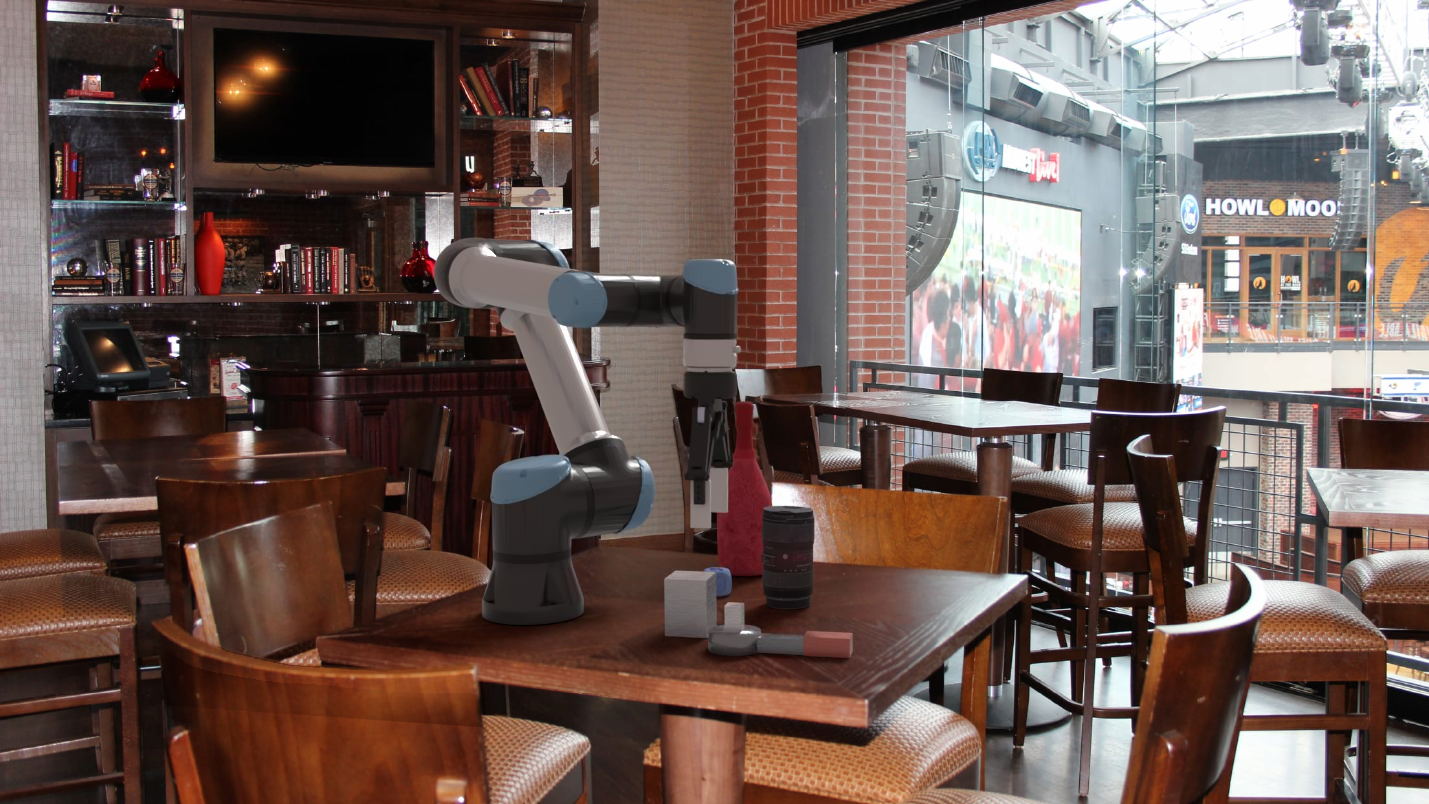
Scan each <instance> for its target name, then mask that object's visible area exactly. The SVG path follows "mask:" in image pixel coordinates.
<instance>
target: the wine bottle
mask: <svg viewBox="0 0 1429 804" xmlns="http://www.w3.org/2000/svg"><path fill="white" fill-rule="evenodd" d="M754 406H755V405H754V404H753V402H752V401H748V400H747V401H746V400H744V401H737V402H736V403H735V405H734V411H735V422H734V427H735V428H736V442H735V450H734V453H733V459H732V460H733V467H729V469H728V512H727V513H721V512H716V529H717V530H716V531H717V532H716V534H717V539H716V540H717V562H718V564H717V565H718V567H722V568H727V569H729V571H730V573H731V577H732V576H734V577H755V576H762V572H763V563H762V562H761V554H762V553H763V543H762V517H763V516H762V515H763V512H764V508H765V507H769V506H773V501H772V497H771V494H770V490H769V488H768V487H769V486H768V485H767V481H766V480H765V478H764V475H763V472H762V471H761V468H760V466H759V464H758V461H757V456H756V451H755V448H754V441H753V428H754V427H755V422H754V410H755V407H754Z"/></svg>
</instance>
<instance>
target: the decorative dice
mask: <svg viewBox="0 0 1429 804" xmlns="http://www.w3.org/2000/svg"><path fill="white" fill-rule="evenodd" d="M702 572H716V597H725V596H729V595H730V593H731V592H732V587H733V583H732V582H733V581H732V575H731V573H730V571H729V569H727V568H722V567H719V566H718V567H715V566H713V567H708V568H707V567H706V568H705V569H704V570H703V571H702Z"/></svg>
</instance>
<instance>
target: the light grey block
mask: <svg viewBox="0 0 1429 804" xmlns="http://www.w3.org/2000/svg"><path fill="white" fill-rule="evenodd" d="M663 579H664V580H663V582H664V583H663V585H664V588H663V589H664V593H663V594H664V636H665V637H677V638H678V637H679V638H680V637H681V638H701V639H708V630H709V629H710V628H712V627H715V626H718V623H717V622H718V617H717V612H718V611H717V610H718V609H717V607H718V605H717V597H718V596H716V572H703V571H699V570H698V571H695V570H674V571H673V572H672V573H670V574H669V575H668V576H666V577H665V578H663Z"/></svg>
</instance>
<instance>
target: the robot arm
mask: <svg viewBox="0 0 1429 804" xmlns="http://www.w3.org/2000/svg"><path fill="white" fill-rule="evenodd" d="M682 271H683V272H682V274H632V273H631V274H629V273H627V274H626V273H619V274H618V273H602V272H600V273H599V272H592V271H588V270H587V271H586V270H582V269H581V270H580V269H579V270H578V269H572V268H570V265H569V262H568V261H567V258H566V256H565V255H564V254H563V252H562V251H561V250H560V249H559V248H557V247H556V246H555V245H553V244H552V243H550V242H549V243H548V242H545V241H539V240H536V239H529V238H528V239H521V240H517V239H502V238H484V237H466V238H461V239H458V240H457V241H454V242H451V243H450V244H448V245H447V246H446V247H445V248H443V250H442V251H440V253H439V254H438V255H437V257H436V260H435V262H434V267H433V280H434V283H435V286H436V289H437V290H438V292H439V294H440V295H441V296H442V297H443V298H444V299H445V300H446V301H448V302H449V303H451V304H454V305H456V306H458V307H462V308H468V309H480V310H481V309H482V310H483V309H484V310H486V309H487V310H495V311H496V313H497V316H498V318H499V321H500V323H501V325H502V326H501V327H503V328H505V329H506V330H508V331H511V332H514V335H515V338H516V342H517V343H518V345H519V348H520V351H521V354H522V356H523V359H524V362H525V365H526V368H527V370H528V372H529V373H528V374H529V375H530V378H531V381H532V383H533V386H534V389H535V391H536V393H537V396H538V398H539V401H540V404H541V408H542V410H543V412H544V415H545V418H546V420H547V423H548V427H549V428H550V431H551V434H552V437H553V439H554V442H555V444H556V447H557V449H558V452H559V454H542V455H537V456H533V455H531V456H526V457H522V458H518V459H517V458H515V459H513V460H509V461H506V462H505V463H502V464H501V465H498V467H497V468H496V469H495V470H494V471H493V472H492V476H491V477H492V478H491V487H490V488H491V489H490V490H491V491H490V496H489V497H490V501H491V519H492V520H491V527H492V528H491V529H492V530H491V531H492V532H491V533H492V567H491V571H490V573H489V577H488V581H487V584H486V587H485V591H484V595H483V596H482V600H481V614H482V615H481V616H482V618H483V619H485V620H486V621H489V622H492V623H497V624H502V625H504V624H505V625H512V626H513V625H518V626H527V625H528V626H530V625H545V624H554V623H561V622H564V621H565V622H566V621H569V620H573V619H577V618H578V617H580V616H581V615H582V614H584V611H585V604H584V603H585V602H584V595H583V592H582V589H581V586H580V584H579V580H578V577H577V575H576V571H575V569H574V566H573V561H572V540H574V539H582V538H589V537H596V536H597V537H598V536H604V535H610V534H611V535H612V534H613V535H617V534H622V533H623V532H627V531H631V530H635V529H637V528H639V527H641V526H642V525H643V524H644V523H645V522H646V521H647V519H648V518H649V517H650V514H651V512H652V510H653V507H654V500H655V498H656V497H655V496H656V483H655V478H654V473H653V471H652V467H651V466H650V465H649V464H648V462H647V461H646V460H645V459H642V458H641V457H639V456H636V455H629V452H628V450H627V448H626V445H625V442H624V441H623V439H622V438H621V437H619V436H616V435H613V434H611V432H610V430H609V428H608V425H607V423H606V421H605V417H604V415H603V413H602V410H601V408H600V405H599V403H598V400H597V397H596V395H595V392H594V390H593V388H592V385H591V383H590V380H589V377H588V375H587V373H586V369H585V366H584V365H583V362H582V361H581V357H580V355H579V352H578V349H577V347H576V345H575V342H574V339H573V337H572V335H571V331H570V329H569V328H575V329H588V328H609V327H610V328H611V327H613V328H617V327H619V328H656V329H657V328H659V329H660V328H673V327H674V328H678V327H680V328H681V327H682V328H683V341H682V342H683V343H682V345H683V349H682V351H683V353H682V354H683V355H682V365H683V367H685V368H686V369H687V370H686V371H685V372H684V373H683V396H684V397H685V398H687V399H697V401H698V404H697V406H693V407H692V409H691V432H690V441H689V452H688V461H687V471H686V473H685V472H684V474H683V475H684V481H690V493H689V495H690V496H689V497H690V504H689V505H690V507H689V508H690V511H689V512H690V513H689V514H690V516H689V517H690V518H689V519H690V520H689V521H690V528H691V529H711V528H712V513H717V512H721V513H727V512H728V472H729V468H730V467H733V459H732V456H731V449H730V447H731V446H730V439H729V425H728V414H727V413H728V412H727V411H728V409H727V408H728V403H727V401H726V400H727V399H734V398H736V396H737V394H738V374H737V373H736V371H733V368H734V369H735V368H736V367H737V359H738V358H737V354H739V353H741V351H742V348H741V346H740V345H737V339H738V332H737V331H738V293H739V287H738V274H737V265H736V263H734V261H732V260H730V259H719V258H702V259H701V258H695V259H694V258H693V259H688V260H686V261H685V263H684V265H683V270H682Z"/></svg>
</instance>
